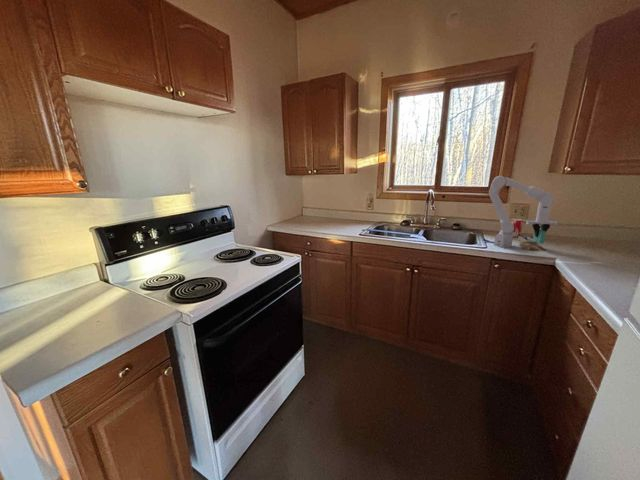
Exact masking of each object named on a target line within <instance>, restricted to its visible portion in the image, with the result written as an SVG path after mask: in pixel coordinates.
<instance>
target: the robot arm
mask: <svg viewBox="0 0 640 480" xmlns="http://www.w3.org/2000/svg"><path fill="white" fill-rule="evenodd" d="M504 186H505V187H508V186H509V187H513V188H514V189H518V190H520V191H523V192H524V194H525V195H526V196H527V197H530V198H532V199H534V200H537V201H539V202H538V206H537V210H536V211H537V212H536V216H535V220H526V222H525V225H532V228H533V233H534V232H535V237H538V234H539V230H540V229H541V230H543V231H545V232H546V233H547V231H548V230H549V229H550V228H551V226H558V221H556V220H555V221H554V220H553V221H552V220H549V219H550V214H551V209H552V202H554V199H555V198H554V196H553V194H551V193H549V192H547V190H543V189H541V188H538V186H536V185H530V186H527V185H525V184H523V183H521V182H519V181H517V180H515V179H512V178H510V177H505V176H503V175H497V176H496V177H494V178H493V180H492V181H491V184H490V187H489V189H488V195H489V196H488V197H489V198H490V200H491V203H492V205H493V207H494V209H495V212H496V214H497V217H498V220H499V222H500V227H501V229H500V230H499V233H497V234H496V235H495V236H494V243H493V246H496V247H500V248H510V247H512V246H513V241H514V237H513V234H514V232H513V230H514V226H513V223H512V222H511V221H512V220H510V219H509V216H508V214H507V211H506V209H505V207H504V205H503V202H502V199H501V198H500V195H499V192H500V190H501V189H502V188H503V187H504Z"/></svg>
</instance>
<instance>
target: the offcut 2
mask: <svg viewBox="0 0 640 480" xmlns="http://www.w3.org/2000/svg"><path fill="white" fill-rule="evenodd" d="M530 246H531V245H530V244H528V243H523V248H524V249H525V251H531V250H530ZM523 248H522V249H523ZM524 249H523V250H524Z"/></svg>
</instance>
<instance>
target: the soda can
mask: <svg viewBox="0 0 640 480" xmlns="http://www.w3.org/2000/svg"><path fill="white" fill-rule="evenodd" d="M510 221H511V222H512V223H513V226H514V230H513V232H514V234H513V238H516V237H517V238H518V236H520V237H522V234H523V233H522V231H523V226H524V222H523V219H522V218H512V220H510Z"/></svg>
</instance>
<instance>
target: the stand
mask: <svg viewBox="0 0 640 480" xmlns="http://www.w3.org/2000/svg"><path fill="white" fill-rule="evenodd" d="M517 240H518V241H519V242H520V240H524V241H526V242H527V243H528V244H531V245H533V246H536V244H538V242H536V241H535V240H533V237H532V238H531V237H530V236H518V237H517Z"/></svg>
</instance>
